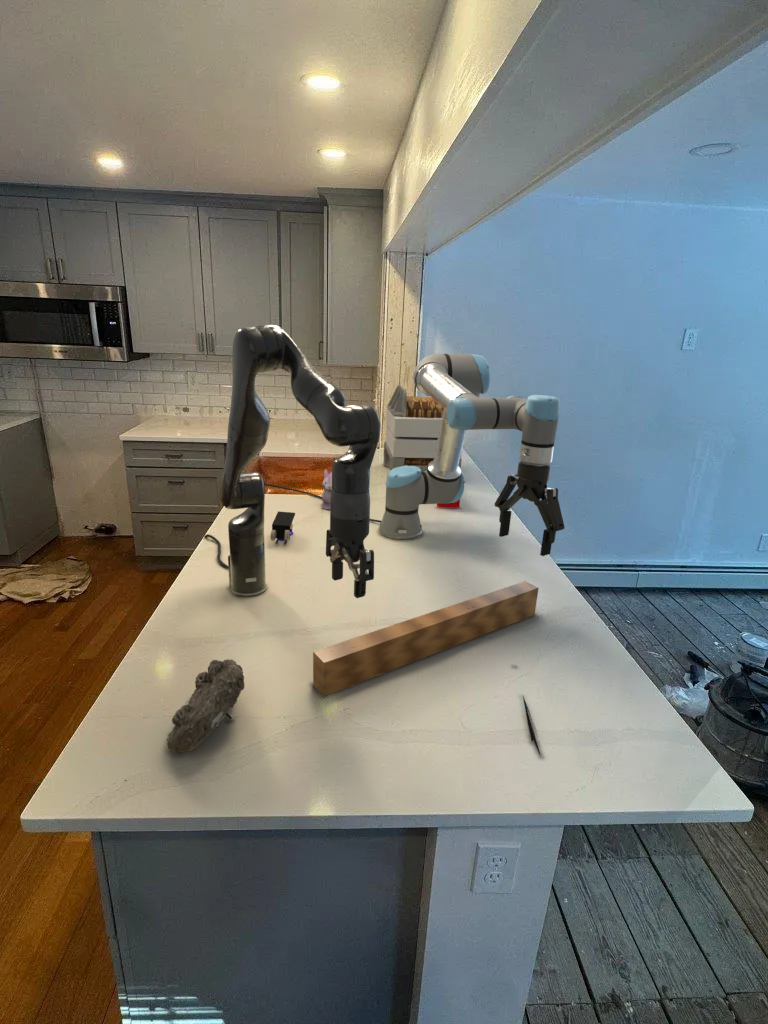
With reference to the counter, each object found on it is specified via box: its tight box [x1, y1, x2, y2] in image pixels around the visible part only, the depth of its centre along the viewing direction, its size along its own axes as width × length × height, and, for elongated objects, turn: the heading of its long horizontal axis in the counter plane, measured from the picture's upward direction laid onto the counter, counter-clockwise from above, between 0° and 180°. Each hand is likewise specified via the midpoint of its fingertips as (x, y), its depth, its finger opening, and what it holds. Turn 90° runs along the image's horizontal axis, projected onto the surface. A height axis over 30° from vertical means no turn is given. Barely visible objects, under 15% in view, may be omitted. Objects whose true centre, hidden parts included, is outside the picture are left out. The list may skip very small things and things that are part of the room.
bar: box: [312, 580, 540, 697], centre depth 133 cm, size 64×5×8 cm, turn 125°
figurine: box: [321, 468, 332, 510], centre depth 222 cm, size 9×10×15 cm
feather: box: [513, 664, 541, 755], centre depth 114 cm, size 2×28×2 cm
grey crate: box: [383, 384, 463, 471], centre depth 268 cm, size 34×33×41 cm
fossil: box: [166, 658, 245, 754], centre depth 106 cm, size 22×10×15 cm
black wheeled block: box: [270, 510, 296, 546], centre depth 190 cm, size 7×8×15 cm
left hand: (348, 587), depth 113 cm, fingers open, 8 cm apart
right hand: (523, 544), depth 141 cm, fingers open, 13 cm apart
